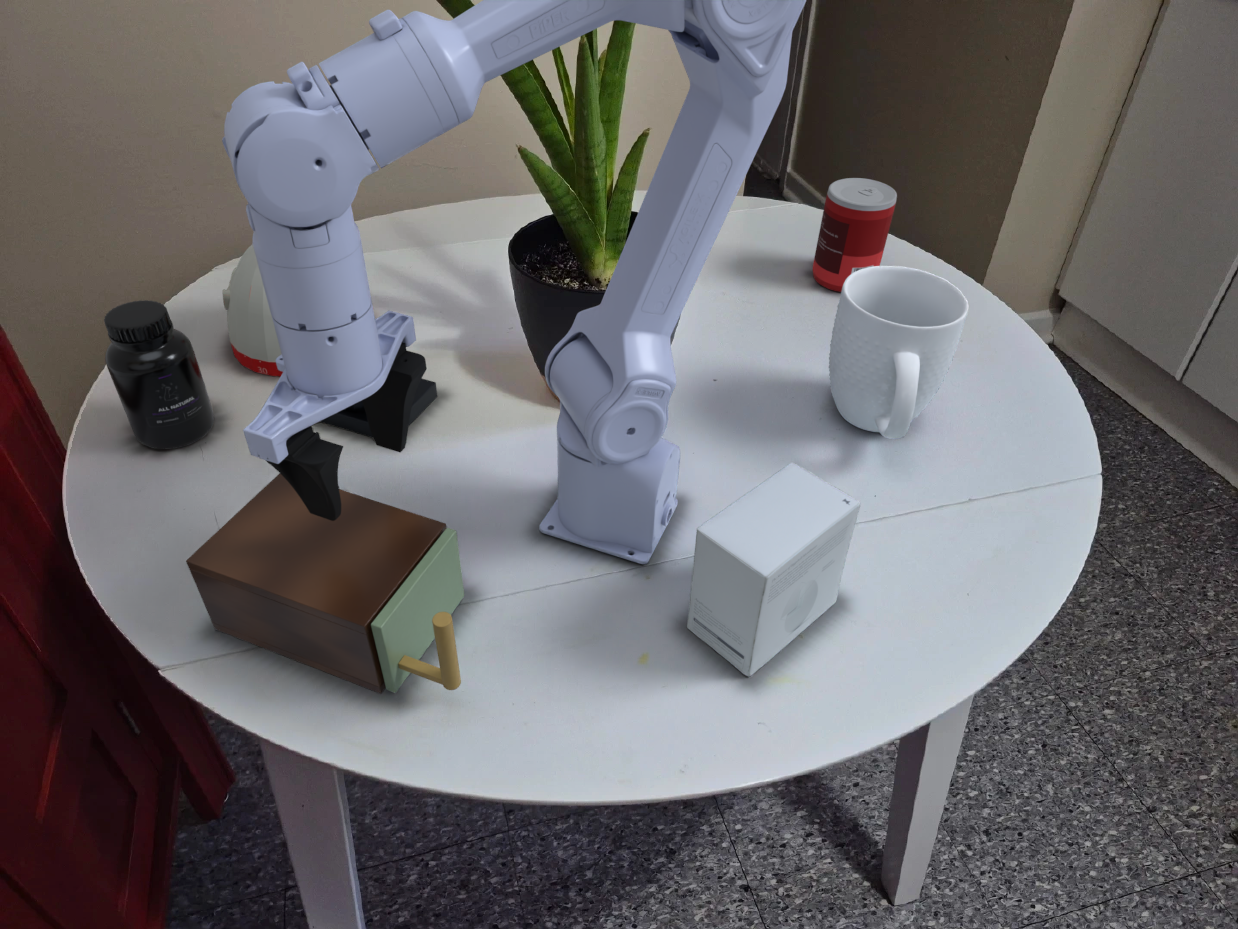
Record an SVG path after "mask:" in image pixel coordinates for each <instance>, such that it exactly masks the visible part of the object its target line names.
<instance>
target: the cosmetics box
mask: <svg viewBox="0 0 1238 929" xmlns="http://www.w3.org/2000/svg"><path fill="white" fill-rule="evenodd" d="M861 505H862V503H861V500H858V499H856V498H855V497H853V496H852V495H850V494H848V493H846V492H845V491H843V490H841V489H840V488H838V487H837V486H835V485H833V484H832V483H830V482H828V481H826V480H824V479H822V478H821V477H819V475H818V476H817V475H816V474H814V473H813V472H811V471H809V470H808V469H806V468H804V467H802V466H801V465H799V464H797V463H795V462H792V461H791V462H790V463H788V464H787V465H786V466H784V467H783V468H781V469H780V470H778V471H777V472H775V473H774V474H772V475H771V476H769V477H768V478H767V479H765V480H764V481H763V482H761V483H759V484H758V485H757V486H755V487H754V488H751V490H750V491H748V492H747V493H745V494H743V495H742V496H741V497H739V498H738V499H736V500H735V501H734V502H732V503H731V504H729V505H728V506H727V507H725V508H724V509H722V510H720V511H719V512H717V513H716V514H715V515H713V516H712V517H711V518H709V519H708V520H707V521H705V522H704V523H702V524H701V525H699V526H698V527H696V533H695V544H694V545H695V546H694V554H693V563H692V575H691V584H690V593H689V602H688V613H687V620H686V621H687V622H686V628H687V629H688V630H689V631H690V632H692V633H693V634H694V635H695V636H696V637H697V638H699V639H700V640H701V641H703V642H704V643H705V644H707V645H708V646H709V647H710V648H712V649H713V650H714V651H715V652H716V653H717V654H719V655H720V656H721V657H723V659H725V660H726V661H727V662H728V663H730V664H731V665H732V666H733V667H735V668H736V669H737V670H738V671H739V672H741V674H743V675H744V676H746V677H749V678H750V677H752V676H753V675H754V674H755V673H756V672H757V671H758V670H759V669H761V668H762V667H763V666H764V665H766V664H767V663H768V662H769V661H770V660H771V659H773V658H774V657H775V656H776V655H777V654H778V653H780V652H781V651H782V650H783V649H784V648H785V647H786V646H788V645H789V644H790V643H791V642H792V641H793V640H794V639H796V638H797V637H799V635H800V634H801V633H803V632H804V631H805V630H806V629H807V628H809V627H810V626H811V625H812V624H814V622H816V620H817V619H818V618H820V617H821V616H822V615H823V614H824V613H825V612H827V610H829V609H830V608H831V607H832V606H834V605H835V603H837V599H838V596H839V591H840V585H841V582H842V577H843V573H844V568H845V564H846V561H847V556H848V553H849V548H850V545H851V541H852V538H853V534H854V531H855V527H856V524H857V520H858V517H859V513H860V509H861Z"/></svg>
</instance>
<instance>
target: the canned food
mask: <svg viewBox="0 0 1238 929" xmlns="http://www.w3.org/2000/svg"><path fill="white" fill-rule="evenodd" d="M897 198H898V193H897V191H896V190H895V189H894V188H893V187H892V186H890V185H888V184H886V183H884V182H881V181H878V180H876V179H875V180H874V179H870V178H861V177H849V178H848V177H847V178H842V179H838V180H835V181H833V182H831V184H829V186H828V190H827V192H826V196H825V201H824V205H823V211H822V217H821V222H820V227H819V231H818V237H817V242H816V247H815V252H814V256H813V257H814V258H813V263H812V277H813V279H814V280H815V282H816V283H817V284H818V285H820V286H821V287H823V288H825V289H827V290H831V291H834V292H838V293H841V291H842V287H843V284H844V282H845V280H846V279H847V277H848V276H850V275H851V274H852V273H854V272H856V271H858V270H860V269H864V268H867V267H873V266H881V263H882V259H883V255H884V251H885V247H886V245H887V244H886V243H887V239H888V236H889V232H890V228H891V224H892V221H893V216H894V213H895V208H896V204H897Z"/></svg>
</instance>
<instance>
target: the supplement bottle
mask: <svg viewBox="0 0 1238 929" xmlns="http://www.w3.org/2000/svg"><path fill="white" fill-rule="evenodd" d="M103 322H104V326H105V328H106V331H107V336H108V339H109V341H110V343H109V345H108V346H107V349H106V351H105V355H104V360H105V361H104V362H105V365H106V368H107V370H108V372H109V375H110V377H111V378H110V379H111V380H112V383H113V385H114V388H115V390H116V393H117V395H118V398H119V400H120V403H121V405H122V408H123V410H124V413H125V415H126V417H127V420H128V423H129V425H130V428H131V430H132V432H133V434H134V436H135V438H136V439H137V440H138V441H139V443H141V444H142V445H144V446H146V447H149V448H153V449H158V450H172V449H179V448H183V447H186V446H189V445H191V444H193V443H195V442H198V441H199V440H201V439H202V438H204V437H205V436H206V435H207V434H208V433H209V432H210V431H211V429H212V427H213V425H214V424H215V414H214V409H213V406H212V403H211V400H210V397H209V393H208V391H207V387H206V383H205V381H204V378H203V375H202V371H201V368H200V365H199V362H198V359H197V356H196V352H195V350H194V347H193V344H192V341H191V340H190V338H189V337H188V336H187V335H186V334H185V333H183V332H182V331H180V330H179V329H176V328H175V327H174V323H173V321H172V319H171V317H170V314H169V311H168V309H167V306H165V304H163V303H162V302H158V301H155V300H147V299H146V300H145V299H144V300H142V299H140V300H134V301H129V302H125V303H122V304H119V305H117V306H116V307H113V308H111V310H109V311H108V312H107V313H105V315H104V319H103Z"/></svg>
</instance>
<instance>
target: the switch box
mask: <svg viewBox="0 0 1238 929" xmlns="http://www.w3.org/2000/svg"><path fill="white" fill-rule="evenodd" d="M437 390H438V388H437V382H436V381H432V380H428V379H425V378H422V379H421V381H420V383H419V385H418V388H417V391H416V394H415V396H414V400H413V404H412V408H411V413H410V419H409V426H410V425H411V424H413V422H415V420H416V419H418V417H419V416H420V415H421V414H422V413H423V412H424V411H425V410H426V409H427V408H428V407H429V406H430V405H431V404H432V402H434V400H436V399H437V397H438V391H437ZM318 423H323V424H326V425H329V426H332V427H336V428H340V429H342V430H345V431H349V432H352V433H355V434H360V435H361V436H362V435H363V436H365V437H370V438H372V439H373V436H372V434H371V431H370V427H369V424H368V420H367V416H366V412H365V408H364V405H363V402H362V400H361V401H359V402H357V403H355V404H353V405H351V406H349V407H347V408H345V409H343V410H341V411H339V412H337V413H335V414H333V415H331V416H329V417H327V418H325V419H323V420H321V421H319V422H318Z"/></svg>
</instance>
